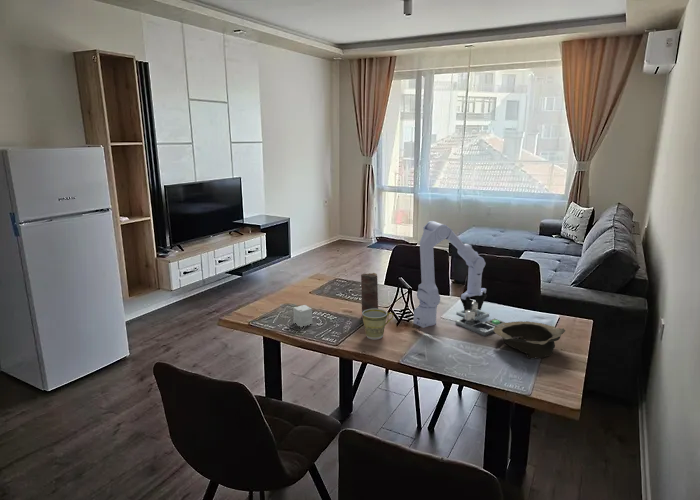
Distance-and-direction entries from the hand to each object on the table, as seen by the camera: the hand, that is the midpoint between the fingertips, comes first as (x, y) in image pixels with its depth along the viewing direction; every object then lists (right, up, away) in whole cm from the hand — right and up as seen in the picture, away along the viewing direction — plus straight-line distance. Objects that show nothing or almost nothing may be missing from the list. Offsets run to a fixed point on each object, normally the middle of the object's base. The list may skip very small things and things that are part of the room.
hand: (472, 311), depth 202 cm
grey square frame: (0, -3, +1) cm, 3 cm away
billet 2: (0, -2, +1) cm, 2 cm away
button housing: (+7, -5, -10) cm, 13 cm away
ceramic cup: (-43, -8, -18) cm, 47 cm away
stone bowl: (+12, -10, -29) cm, 33 cm away
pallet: (-2, -6, -13) cm, 14 cm away
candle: (-46, -3, +2) cm, 46 cm away
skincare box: (-75, -5, -5) cm, 75 cm away
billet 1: (-4, -4, -10) cm, 12 cm away
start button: (+7, -6, -10) cm, 14 cm away
